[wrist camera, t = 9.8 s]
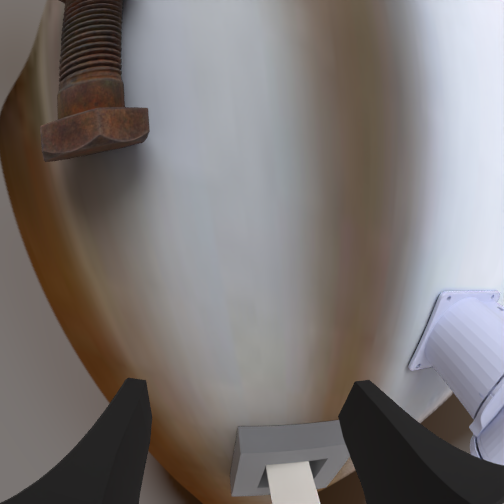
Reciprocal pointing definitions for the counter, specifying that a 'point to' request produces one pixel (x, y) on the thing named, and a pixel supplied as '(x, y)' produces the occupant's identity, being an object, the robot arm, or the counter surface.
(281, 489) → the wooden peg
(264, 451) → the socket block
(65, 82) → the bolt
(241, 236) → the counter surface
